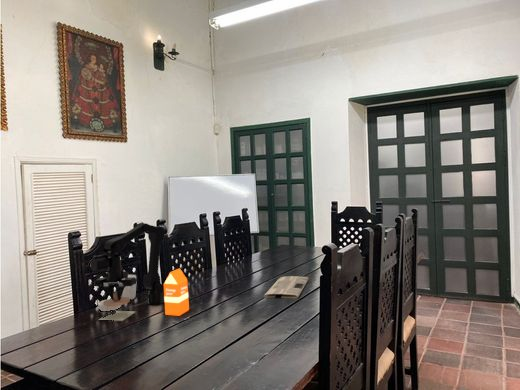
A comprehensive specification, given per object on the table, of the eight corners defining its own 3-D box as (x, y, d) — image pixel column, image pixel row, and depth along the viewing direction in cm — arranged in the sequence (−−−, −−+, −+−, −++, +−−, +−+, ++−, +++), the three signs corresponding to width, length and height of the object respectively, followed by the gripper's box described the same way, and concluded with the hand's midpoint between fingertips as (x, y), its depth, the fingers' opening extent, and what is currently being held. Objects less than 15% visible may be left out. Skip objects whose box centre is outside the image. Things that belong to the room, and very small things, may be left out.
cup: (132, 301, 207) (130, 278, 207) (116, 300, 209) (115, 278, 209) (140, 296, 216) (139, 274, 216) (125, 295, 218) (124, 274, 217)
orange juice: (165, 314, 182) (162, 272, 181) (175, 308, 190) (173, 267, 190) (179, 315, 179) (177, 272, 179) (189, 309, 188) (187, 268, 187)
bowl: (124, 305, 199) (123, 298, 199) (113, 312, 190) (112, 305, 189) (106, 305, 201) (106, 298, 201) (94, 311, 192) (94, 304, 191)
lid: (134, 298, 188) (133, 288, 187) (121, 306, 176) (120, 295, 176) (112, 298, 190) (111, 288, 190) (98, 306, 178) (97, 295, 178)
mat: (135, 312, 188) (135, 311, 188) (122, 321, 176) (122, 320, 176) (112, 311, 190) (112, 311, 190) (98, 320, 178) (98, 319, 178)
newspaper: (298, 299, 196) (297, 294, 196) (261, 298, 202) (260, 293, 202) (308, 281, 232) (308, 276, 232) (276, 280, 237) (276, 276, 237)
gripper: (141, 263, 189) (143, 295, 189) (106, 263, 192) (108, 295, 193) (129, 268, 178) (131, 302, 178) (92, 268, 181) (94, 301, 182)
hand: (116, 300), depth 183 cm, fingers closed on lid, 3 cm apart
